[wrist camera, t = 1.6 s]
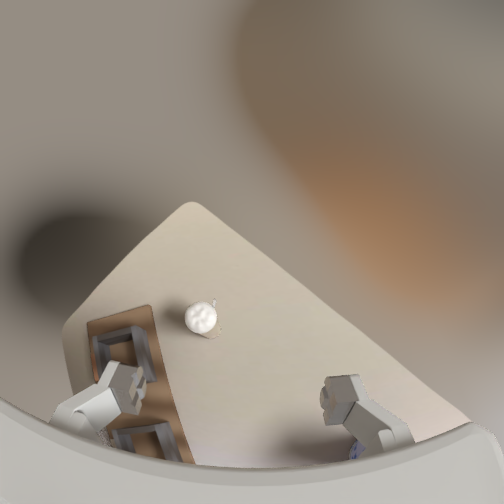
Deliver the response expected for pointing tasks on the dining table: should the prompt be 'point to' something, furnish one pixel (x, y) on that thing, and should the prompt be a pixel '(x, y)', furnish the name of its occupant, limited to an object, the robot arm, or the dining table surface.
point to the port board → (158, 390)
